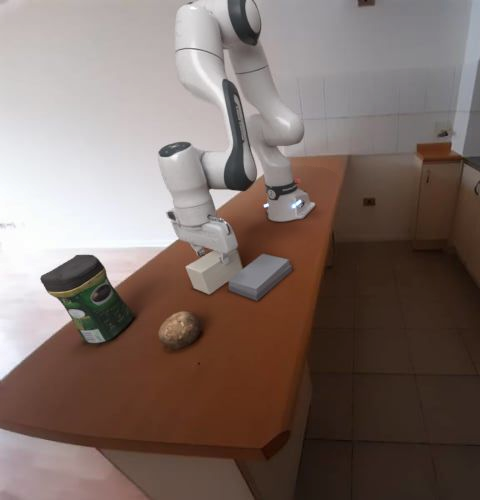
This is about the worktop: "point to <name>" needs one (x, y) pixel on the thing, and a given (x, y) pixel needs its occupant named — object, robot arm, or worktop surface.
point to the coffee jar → (88, 298)
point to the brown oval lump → (179, 330)
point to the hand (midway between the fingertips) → (213, 259)
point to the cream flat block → (209, 264)
